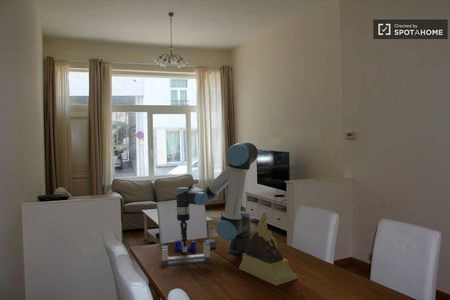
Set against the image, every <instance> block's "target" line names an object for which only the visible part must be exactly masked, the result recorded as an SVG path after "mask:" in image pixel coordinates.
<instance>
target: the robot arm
mask: <svg viewBox="0 0 450 300" xmlns="http://www.w3.org/2000/svg"><path fill="white" fill-rule="evenodd" d="M258 155H259V150H258V148H257V146H256V145H255V144H254V143H251V142H237V143H235V144H233V145H230V146H229V148H228V149H227V153H226V159H227V161H228V165H227V166H226V168H224V169H223V171H221V172H220V174H219V175H218V176H217V177H216V178H214V179H213V181H211V183H209V185H208V186H206V187H205V188H204V189H200V190H197V191H193V190H192V191H190V188H189V187H185V186H182V187H177V188H176V191H175V193H176V194H175V197H176V198H175V199H176V207H175V210H176V213H177V214H176V220H177V221H178V222H179V225H180V226H179V227H180V234H181V236H180V239H181V240H180V243H181V245H182V250H183V252H182V253H188V252H187V248H188V236H187V232H188V231H187V230H188V228H187V227H188V223H187V222H186V221H189V220H190V219H191V218H190V217H191V216H190V213H191V212H190V211H191V210H190V205H197V206H205V205H206V204H207V203H208V202H209V201H213V200H215V199H216V198H217V197H218V194H219V193H220V192H221V191H222V190H223V189H224V188H226V187H227V186H228V187H227V193H226V200H225V206H224V211H223V212H222V213H221V215H220V220H219V221H218V223H217V224H216V226H215V229H216V234H217V235H218V237H219V238H220V239H221V240H223V241H229V245H228V252H229V253H230V254H234V255H242V254H243V253H246V250H247V245H248V243H249V242H250V240H251V238H252V234H251V233H252V229H251V228H252V227H251V226H252V225H251V214H250V213H249V212H247V211H241V210H242V209H241V208H242V203H243V196H244V191H245V190H244V189H245V182H246V176H247V172H248V171H249V170H251V169H250V168H251V165H252V164H253V163H254V162H255V161H256V160H257V158H258Z"/></svg>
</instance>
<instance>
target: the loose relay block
mask: <svg viewBox="0 0 450 300" xmlns="http://www.w3.org/2000/svg"><path fill="white" fill-rule="evenodd" d="M206 242H209V244H210V249H215V248H216V247H217V241H216V240H214V239H213V238H211V239H205V240H204V243H206Z"/></svg>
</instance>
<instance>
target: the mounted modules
mask: <svg viewBox="0 0 450 300" xmlns="http://www.w3.org/2000/svg"><path fill="white" fill-rule="evenodd" d="M202 246H203V247H202V248H203V250H202V251H203V254H204V256H205V257H210V258H211V248H210V244H209V242H206V243H205V242H202ZM161 253H162V254H161V255H162V256H161V258H162V262H163V261H165V260H168V257H169V249H168V245H162V246H161Z"/></svg>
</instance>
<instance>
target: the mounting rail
mask: <svg viewBox="0 0 450 300" xmlns="http://www.w3.org/2000/svg"><path fill="white" fill-rule="evenodd" d="M210 262H212V260H211V256H210V257H205V256H204V253H196V254H195V253H194V254H185V255H183V254H182V255H174V256H173V255H172V256H168V260H165V261H162V267H163V266H177V265H178V266H179V265H188V264H199V263H200V264H201V263H210Z"/></svg>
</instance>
